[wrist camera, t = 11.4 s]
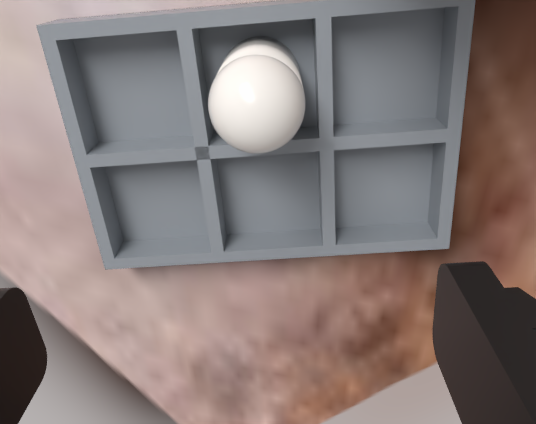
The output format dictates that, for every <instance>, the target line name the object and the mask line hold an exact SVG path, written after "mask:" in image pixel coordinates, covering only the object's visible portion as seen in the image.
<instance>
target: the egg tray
mask: <svg viewBox="0 0 536 424" xmlns="http://www.w3.org/2000/svg"><path fill="white" fill-rule="evenodd" d="M474 9H475V0H278V1H266V2H255V3H243V4H232V5H220V6H209V7H197V8H186V9H174V10H163V11H151V12H140V13H128V14H117V15H105V16H94V17H82V18H70V19H59V20H55V21H51V22H47V23H43V24H40V25H36V26H37V30H38V33H39V37H40V40H41V44H42V47H43V51H44V54H45V58H46V61H47V65H48V69H49V72H50V76H51V79H52V83H53V86H54V90H55V93H56V97H57V100H58V104H59V108H60V111H61V115H62V118H63V122H64V125H65V129H66V132H67V136H68V139H69V143H70V147H71V150H72V154H73V157H74V161H75V164H76V168H77V171H78V175H79V178H80V182H81V186H82V189H83V193H84V196H85V200H86V203H87V207H88V210H89V214H90V217H91V221H92V225H93V228H94V232H95V235H96V239H97V242H98V246H99V249H100V253H101V256H102V260H103V264H104V267H105V269H121V268H138V267H154V266H171V265H187V264H204V263H221V262H237V261H254V260H270V259H287V258H303V257H320V256H336V255H353V254H369V253H386V252H402V251H419V250H435V249H449V244H450V235H451V225H452V216H453V206H454V197H455V188H456V178H457V169H458V160H459V150H460V141H461V131H462V122H463V113H464V103H465V94H466V84H467V75H468V66H469V56H470V47H471V38H472V28H473V19H474ZM255 36H265V37H270V38H273V39H276V40H278V41H280V42H281V43H283V44H284V45H285V46H287V47H288V48H289V49H290V51H291V52H292V53H293V55H294V57H295V58H296V61H297V63H298V66H299V71H300V75H301V80H302V85H303V89H304V94H305V113H304V118H303V121H302V123H301V126H300V128H299V129H298V131H297V133H296V134H295V135H294V137H293V138H292V139H291V140H290V141H289V142H288V143H286V144H285V145H284V146H282V147H280V148H278V149H276V150H274V151H271V152H267V153H260V154H254V153H247V152H243V151H240V150H238V149H236V148H234V147H232V146H231V145H229V144H228V143H226V142H225V141H224V140H223V139H222V138H221V137H220V136H219V134H218V133H217V131H216V130H215V128H214V126H213V124H212V122H211V119H210V115H209V110H208V97H209V92H210V88H211V85H212V83H213V81H214V79H215V77H216V75H217V73H218V71H219V69H220V67H221V65H222V63H223V61H224V59H225V58H226V56H227V54H228V53H229V51H230V50H231V49H232V48H233V47H234V46H235V45H236V44H237V43H239V42H241V41H242V40H245V39H247V38H250V37H255Z"/></svg>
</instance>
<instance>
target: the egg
mask: <svg viewBox="0 0 536 424" xmlns="http://www.w3.org/2000/svg"><path fill="white" fill-rule="evenodd" d="M208 110H209V115H210V119H211V122H212V124H213V126H214V128H215V130H216V131H217V133H218V134H219V136H220V137H221V138H222V139H223V140H224V141H225V142H226V143H228V144H229V145H231V146H232V147H234V148H236V149H238V150H240V151H243V152H247V153H254V154H260V153H267V152H271V151H274V150H276V149H278V148H280V147H282V146H284V145H285V144H286V143H288V142H289V141H290V140H291V139H292V138H293V137H294V135H295V134H296V133H297V131H298V129H299V128H300V126H301V123H302V121H303V118H304V113H305V94H304V89H303V85H302V80H301V75H300V71H299V66H298V63H297V61H296V58H295V57H294V55H293V53H292V52H291V51H290V49H289V48H288V47H287V46H285V45H284V44H283V43H281V42H280V41H278V40H276V39H273V38H270V37H265V36H255V37H250V38H247V39H245V40H242V41H241V42H239V43H237V44H236V45H235V46H234V47H233V48H232V49H231V50H230V51H229V53H228V54H227V56H226V58H225V59H224V61H223V63H222V65H221V67H220V69H219V71H218V73H217V75H216V77H215V79H214V81H213V83H212V85H211V88H210V92H209V97H208Z"/></svg>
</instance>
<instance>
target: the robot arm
mask: <svg viewBox="0 0 536 424" xmlns="http://www.w3.org/2000/svg"><path fill="white" fill-rule="evenodd" d="M433 344H434V350H435V355H436V359H437V362H438V364H439V367H440V369H441V372H442V374H443V377H444V380H445V382H446V384H447V387H448V389H449V392H450V394H451V397H452V400H453V402H454V404H455V407H456V410H457V412H458V414H459V417H460V420H461V422H462V424H536V299H535V298H533V297H532V296H530V295H529V294H527V293H526V292H524V291H523V290H521V289H520V288H518V287H513V288H504V287H503V286H502V284H501V283H500V281H499V280H498V278H497V277H496V276H495V274H494V273H493V271H492V270H491V268H490V267H489V266H488V264H487V263H485V262H465V263H448V264H441V265H440V267H439V270H438V277H437V287H436V298H435V308H434V319H433ZM46 366H47V352H46V347H45V344H44V342H43V339H42V336H41V334H40V331H39V329H38V326H37V323H36V321H35V318H34V316H33V313H32V310H31V308H30V305H29V303H28V300H27V298H26V295H25V294H24V292H23V291H22V290H21V289H19V288H0V424H18V423H19V421H20V419H21V417H22V415H23V414H24V412H25V410H26V408H27V406H28V405H29V403H30V401H31V399H32V398H33V396H34V394H35V392H36V390H37V389H38V387H39V385H40V383H41V381H42V379H43V377H44V374H45V371H46Z"/></svg>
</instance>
